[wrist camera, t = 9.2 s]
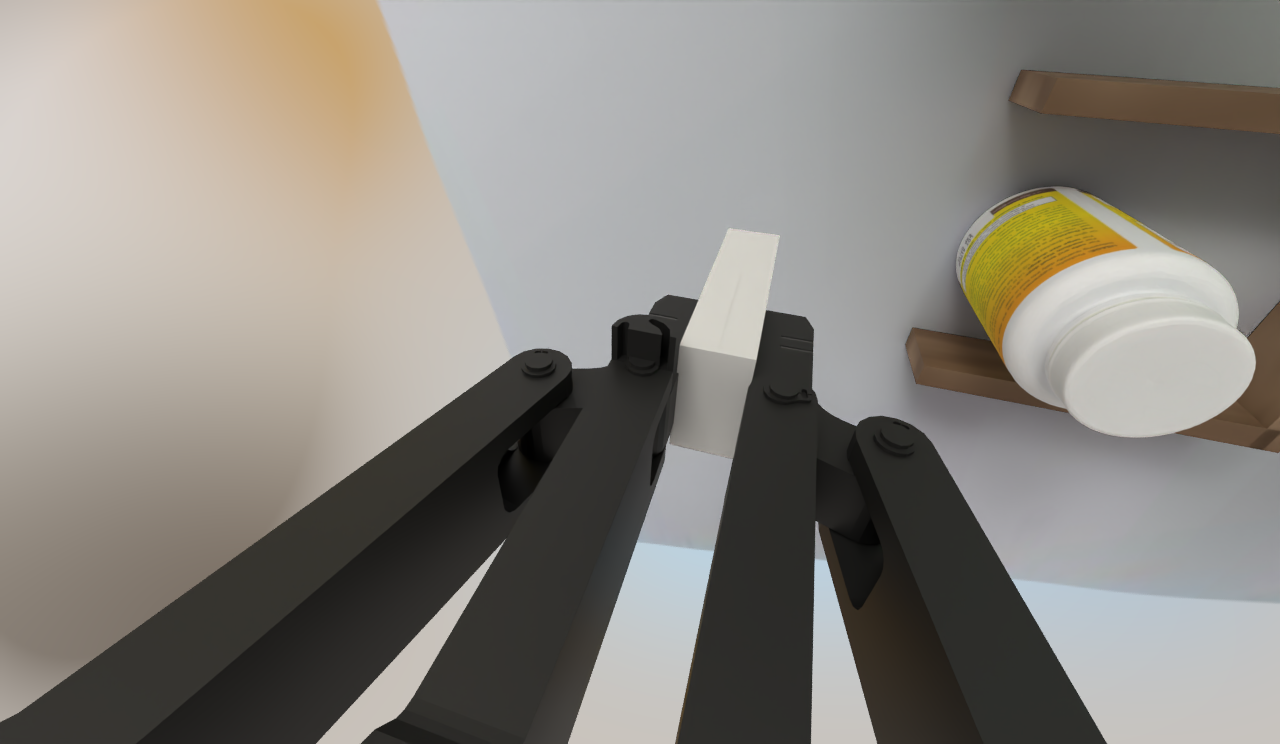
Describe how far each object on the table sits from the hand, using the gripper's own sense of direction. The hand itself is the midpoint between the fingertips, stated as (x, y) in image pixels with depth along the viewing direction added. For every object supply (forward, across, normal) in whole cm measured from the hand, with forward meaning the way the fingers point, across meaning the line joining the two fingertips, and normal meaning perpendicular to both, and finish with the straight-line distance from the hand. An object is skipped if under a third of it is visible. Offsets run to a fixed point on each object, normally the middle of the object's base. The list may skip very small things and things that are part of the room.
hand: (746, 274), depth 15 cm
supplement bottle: (+10, +11, -1) cm, 15 cm away
